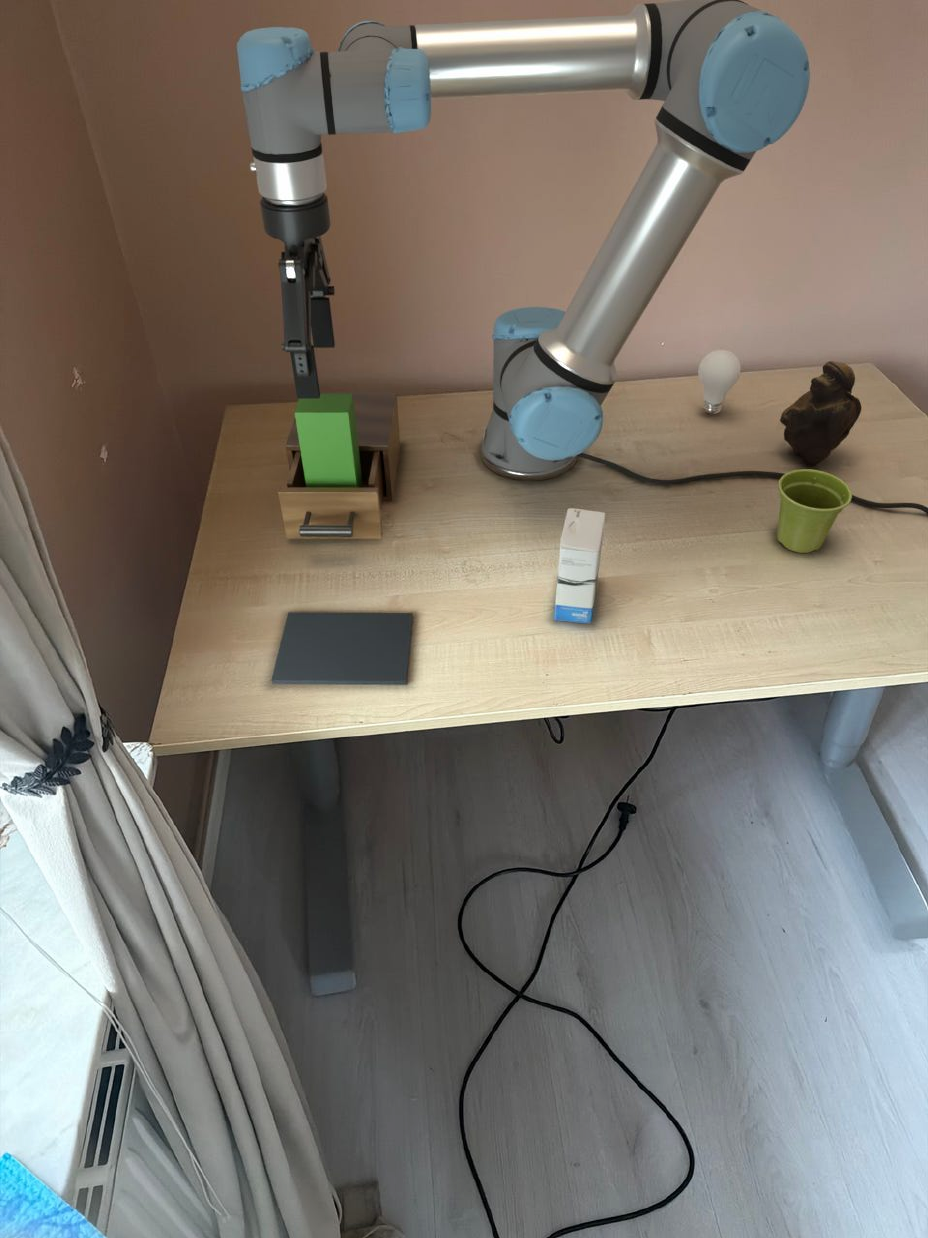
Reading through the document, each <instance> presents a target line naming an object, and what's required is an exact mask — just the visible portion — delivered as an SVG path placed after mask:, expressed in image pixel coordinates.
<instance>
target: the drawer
mask: <svg viewBox="0 0 928 1238" xmlns="http://www.w3.org/2000/svg"><path fill="white" fill-rule="evenodd" d="M359 456H360V465H361V474H362V483H363V488H306V481H305V475H304V469H303V463H302V457H301V451H296V454H295V457H294V460H293V464H292V467H291V471H290V470H289V475H288V477H287V481H286V487H279V488H278V492H277V494H278V500H279V504H280V510H281V511H280V512H281V516H282V521H283V527H284V532H285V536H286V539H298V540H299V539H301V540H302V539H307V540H308V539H309V540H311V539H312V540H313V539H317V540H319V539H320V540H321V539H323V540H326V539H327V540H328V539H330V540H331V539H333V540H334V539H335V540H336V539H337V540H338V539H342V540H343V539H347V540H351V539H353V540H354V539H355V540H356V539H357V540H359V539H361V540H363V539H365V540H366V539H367V540H368V539H369V540H370V539H372V540H373V539H374V540H377V539H378V540H382V539H383V534H384V533H383V523H382V513H381V512H382V505H383V502H382V499H383V493H384V486H385V470H384V459H383V451H359Z"/></svg>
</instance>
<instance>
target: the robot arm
mask: <svg viewBox="0 0 928 1238" xmlns="http://www.w3.org/2000/svg"><path fill="white" fill-rule="evenodd" d="M236 43H237V44H236V52H237V60H238V69H239V75H240V76H239V78H240V91H241V95H242V101H243V102H242V103H243V106H244V113H245V118H246V125H247V129H248V137H249V140H250V147H251V153H252V157H253V161H252V162H250V163H249V170H250V171H251V172H252V173H256V183H257V189H258V194H259V195H260V196H262V197H261V199H260V201H259V205H260V211H261V218H262V223H263V224H262V225H263V230H264V233H266V235H267V236H269V237H270V238H272V239H275V240H280V241H281V242H282V243H283V244H284V251H281V253H280V254H281V256H280V258H279V260H278V268H279V275H280V284H281V286H280V288H281V305H282V306H281V307H282V321H283V323H282V324H283V342H284V343H281V350H282V351H284V352H285V353H289V354H290V362H291V366H292V368H291V369H292V373H293V378H294V379H293V380H294V386H295V393H296V399H298V400H299V399H319V398H320V392H321V391H320V390H321V389H320V384H319V383H320V381H319V375H318V369H317V362H316V354H315V348H318V349H324V348H325V349H328V348H329V349H331V348H332V349H334V348H335V347H336V341H335V335H334V327H333V325H334V324H333V317H332V309H331V301H330V296H335V295H336V291H335V290H336V289H335V286H334V285H331V282H332V281H331V278H332V277H330V272H329V267H328V263H327V260H326V254H325V250H324V245H323V241H322V236H323V235H325V234H326V233H327V232H329V230H330V227H331V217H330V216H331V215H330V207H329V199H328V196H327V195H326V194H325V193H324V192H325V191H326V190H327V188H328V185H327V184H328V183H327V177H326V167H325V159H324V152H323V145H322V136H323V135H324V136H326V135H329V136H331V135H334V136H335V135H354V134H355V135H357V134H358V135H359V134H385V133H391V134H392V133H394V134H397V135H398V134H399V135H400V134H402V133H407V132H412V131H421V130H424V129H426V128H427V127H428V126H429V125H430V123H431V119H432V101H434V100H435V101H437V100H438V101H439V100H455V99H456V100H457V99H479V98H480V99H481V98H498V97H519V96H539V95H540V96H542V95H543V96H544V95H560V94H561V95H563V94H564V95H565V94H583V93H603V92H606V93H607V92H625V93H626V94H627V95H628V96H629V97H630V99H631V100H632V101H639V100H652V101H653V100H654V101H661V102H663V103H662V105H661V107H660V110H659V111H658V113H657V115H656V117H655V119H654V125H655V131H656V137H657V142H656V143H657V144H656V145H655V147H654V149H653V151H652V152H651V154H650V155H649V157H648V160H647V162H646V163H645V165H644V166H643V169H642V171H641V172H640V174H639V176H638V178H637V180H636V182H635V184H634V185H633V187H632V189H631V191H630V192H629V194H628V196H627V198H626V199H625V202H624V204H623V206H622V208H621V209H620V211H619V213H618V215H617V217H616V218H615V220H614V222H613V224H612V226H611V228H610V229H609V231H608V233H607V235H606V237H605V239H604V241H603V243H602V244H601V246H600V248H599V250H598V252H597V253H596V255H595V257H594V259H593V261H592V262H591V265H590V266H589V267H588V270H587V272H586V273H585V276H584V277H583V279H582V281H581V283H580V284H579V286H578V288H577V290H576V291H575V293H574V295H573V297H572V299H571V301H570V303H569V304H568V306H567V308H566V310H562V309H560V308H559V309H558V308H554V307H545V306H527V307H518V308H514V309H511V310H508V311H504V312H503V313H501V314H500V315H499V316H498V317H497V318H496V319H495V321H494V323H493V324H494V325H493V333H492V336H491V339H492V340H493V359H492V360H493V361H492V362H493V364H492V365H493V366H492V368H493V369H492V371H493V373H492V380H493V381H492V411H491V414H490V417H489V420H488V423H487V424H485V425H484V428H483V436H482V439H481V443H480V444H481V445H480V456H481V461H482V462H483V464H484V465H485V466H486V468H488V469H489V470H490V471H492V472H494V473H495V474H497V475H499V476H502V477H504V478H508V479H511V480H517V481H525V482H535V481H545V480H550V479H554V478H556V477H559V476H562V475H564V474H566V473H567V472H569V471H570V470H571V469H572V468H573V467H574V466H575V465H576V463H577V460H578V458H582V459H584V460H588V461H590V462H591V461H592V462H594V463H598V464H600V465H602V466H603V465H604V466H607V467H609V468H611V469H614V470H617V471H618V472H621V473H623V474H625V475H627V476H629V477H631V478H632V479H633V478H634V479H636V480H638V481H641V482H644V483H649V484H653V485H660V486H661V485H663V486H664V485H665V486H668V485H671V486H672V485H680V484H686V483H692V482H697V481H703V480H704V481H705V480H712V479H725V478H733V477H734V478H735V477H750V476H751V477H771V478H779V479H780V478H781V477H782V476H783V475H784V474H785V473H784V472H776V471H764V470H762V471H761V470H739V471H728V472H719V473H708V474H698V475H693V476H687V477H683V478H675V479H658V478H653V477H652V478H651V477H647V476H645V475H644V476H643V475H641V474H638V473H636V472H634V471H632V470H629V469H628V468H626V467H624V466H622V465H619V464H618V463H615V462H613V461H609V460H606V459H603V458H601V457H598V456H594V455H591V454H588V453H584V452H585V451H586V450H588V449H589V448H590V447H591V446H593V444H594V443H595V442H596V441H597V439H598V438H599V436H600V435H601V432H602V429H603V424H604V411H603V408H602V405H603V403H604V401H605V399H606V397H607V396H608V394H609V393H610V391H611V390H612V388H613V386H614V385H615V383H616V381H617V379H618V374H617V368H616V365H615V360H616V359H617V357H618V356H619V354H620V352H621V350H622V348H623V347H624V346H625V344H626V342H627V340H628V339H629V337H630V335H631V334H632V332H633V331H634V329H635V327H636V325H638V324H637V323H638V322H639V321H640V319H641V318H642V316H643V314H644V312H645V310H646V309H647V307H648V306H649V304H650V303H651V301H652V299H653V297H654V295H655V294H656V292H657V291H658V289H659V287H660V285H661V284H662V282H663V280H664V279H665V277H666V276H667V274H668V272H669V271H670V270H671V267H672V266H673V264H674V262H675V261H676V259H677V257H678V256H679V254H680V252H681V250H682V249H683V248H684V245H685V244H686V243H687V241H688V239H689V237H690V236H691V234H692V232H693V231H694V229H695V227H696V226H697V224H698V222H699V220H700V219H701V217H702V216H703V214H704V213H705V211H706V209H707V207H708V205H709V204H710V202H711V200H712V199H713V198H714V196H715V194H716V192H717V190H718V189H719V187H720V186H721V184H722V183H723V182H724V181H725V180H728V179H731V178H734V177H737V176H739V175H743V174H744V172H745V170H746V169H747V167H748V166H749V164H750V162H751V161H752V159H753V158H754V156H755V154H756V153H757V151H761V150H763V149H764V148H766V147H768V146H769V145H773V144H775V143H776V142H778V141H780V140H781V138H783V136H784V135H786V133H788V132H789V130H790V129H791V128H792V127H793V125H794V124H795V123H796V121H797V119H798V118H799V116H800V114H801V113H802V111H803V107H804V105H805V103H806V100H807V97H808V94H809V88H810V82H811V81H810V80H811V71H810V61H809V54H808V52H807V50H806V46H805V45H804V42H803V40H802V39H801V38H800V36H799V35H798V34H797V32H796V31H794V30H793V29H792V28H791V27H790V26H789V24H787V23H786V22H784V21H783V20H782V19H781V18H780V17H779V16H775V15H773V14H770V13H768V11H764V10H761V9H759V8H756V7H754V6H751V5H750V4H748V3H747V2H744V1H743V0H672V1H663V2H653V3H652V2H651V3H638V4H637V5H635V7H634V8H633V9H632V11H631V12H630V13H628V14H624V15H602V16H597V15H596V16H579V17H578V16H577V17H557V18H556V17H554V18H535V19H534V18H533V19H512V20H491V21H490V20H488V21H467V22H466V21H465V22H446V23H445V22H444V23H423V24H422V23H419V24H413V25H412V24H411V25H410V24H409V25H406V24H403V25H402V24H401V25H385V24H384V23H381V22H378V21H375V20H363V21H360V22H357V23H355V24H354V25H352V26H351V27H350V28H349V29H348V30H347V31H346V32H345V34H344V35H343V37H342V40H341V42H340V43H339V47H338V49H337V51H329V52H328V51H320V50H319V51H318V50H314V47H313V46H312V44H311V43H312V42H311V38H310V36H309V34H308V32H307V31H305V30H304V29H302V28H297V27H291V26H289V27H284V26H271V27H270V26H269V27H261V28H256V29H251V30H248V31H246V32H245V33H243V34H242V35H241V36H240V38H239V39H238V41H237V42H236ZM327 296H329V297H327ZM312 343H313V344H312ZM851 501H853V502H855V503H858V504H860V505H863V506H868V507H870V508H871V507H872V508H877V509H878V508H879V509H917V510H918V511H919V510H920V511H921V512H924V513H925V514H926V515H928V506H925V505H923V504H920V503H915V502H890V503H889V502H888V503H887V502H877V501H871V500H868V499H865V498H861V497H858V496H856V495H854V494H852V499H851Z"/></svg>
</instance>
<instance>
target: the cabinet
mask: <svg viewBox="0 0 928 1238" xmlns="http://www.w3.org/2000/svg"><path fill="white" fill-rule="evenodd" d="M320 394H353V401H354V410H355V419H356V428H357V437H358V446H359V451H383V459H384V470H385V486H384V493H383V499H382V503H383V502H384V503H385V502H388V503H389V502H394V495H395V494H394V493H395V486H396V481H397V473H398V465H399V458H400V451H401V435H400V420H399V407H398V393H397V391H320ZM285 451H286V456H287V463H288V468H289V472H290V471H291V467H292V464H293V460H294V457H295V454H296V451H301V450H300V444H299V438H298V432H297V426H296V419H295V417H294V418H293V421H292V425H291V428H290V430H289V435H288V438H287V440H286V444H285Z"/></svg>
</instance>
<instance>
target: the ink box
mask: <svg viewBox="0 0 928 1238" xmlns="http://www.w3.org/2000/svg"><path fill="white" fill-rule="evenodd" d="M605 521H606V512H604V511H596V510H589V509H583V508H582V509H581V508H574V507H569V508H568V509H567V511H566V514H565V518H564V524H563V527H562V532H561V535H560V539H559V552H558V564H557V577H556V578H557V579H556V589H555V601H554V603H555V604H554V614H553V620H555V621H561V622H569V623H577V624H589V625H590V624H592V619H593V612H594V604H595V600H596V594H597V593H596V592H597V587H598V580H599V574H600V566H601V557H602V549H603V539H604V532H605V531H604V530H605Z"/></svg>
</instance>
